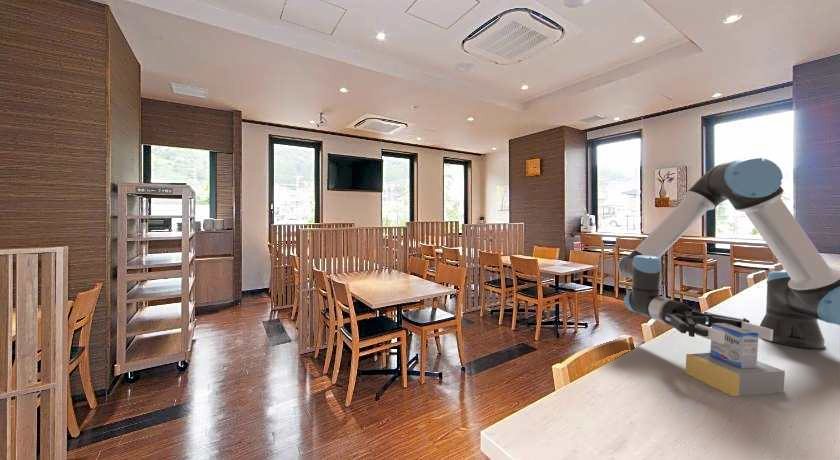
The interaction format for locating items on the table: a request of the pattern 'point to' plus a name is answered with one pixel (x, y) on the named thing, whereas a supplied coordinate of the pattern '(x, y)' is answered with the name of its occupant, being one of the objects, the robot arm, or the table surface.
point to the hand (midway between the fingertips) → (748, 336)
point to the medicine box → (736, 346)
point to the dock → (735, 376)
